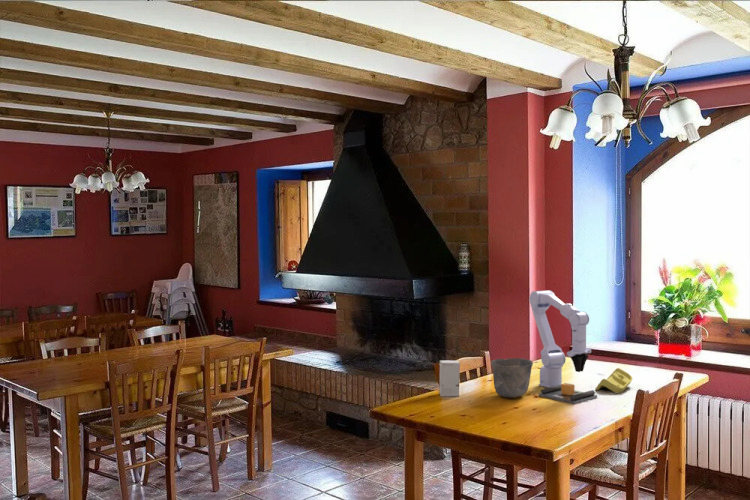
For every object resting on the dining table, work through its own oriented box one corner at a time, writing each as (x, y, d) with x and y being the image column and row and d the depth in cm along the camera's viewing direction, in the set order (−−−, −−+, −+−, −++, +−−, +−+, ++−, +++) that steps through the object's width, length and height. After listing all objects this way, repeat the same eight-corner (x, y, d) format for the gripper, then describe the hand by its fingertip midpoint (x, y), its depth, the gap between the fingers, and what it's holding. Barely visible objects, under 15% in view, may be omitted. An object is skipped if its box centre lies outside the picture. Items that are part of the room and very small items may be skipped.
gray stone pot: (502, 389, 310) (502, 356, 310) (539, 394, 300) (539, 360, 300) (484, 397, 296) (484, 362, 295) (523, 403, 286) (523, 367, 285)
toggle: (561, 393, 297) (561, 383, 296) (565, 392, 299) (565, 382, 298) (569, 395, 293) (569, 384, 293) (574, 394, 295) (574, 383, 295)
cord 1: (539, 393, 298) (539, 388, 298) (561, 388, 307) (561, 383, 307) (543, 394, 296) (543, 389, 296) (565, 388, 305) (565, 384, 305)
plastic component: (621, 389, 299) (600, 376, 304) (614, 403, 302) (593, 390, 307) (635, 377, 315) (615, 365, 320) (628, 390, 318) (608, 378, 323)
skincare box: (440, 397, 298) (440, 362, 298) (439, 393, 304) (438, 359, 304) (460, 396, 299) (460, 362, 298) (458, 393, 305) (457, 359, 304)
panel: (538, 395, 298) (538, 392, 298) (562, 390, 308) (562, 387, 308) (574, 404, 284) (574, 401, 284) (597, 397, 294) (597, 394, 294)
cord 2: (568, 400, 286) (568, 395, 286) (590, 394, 295) (590, 389, 295) (573, 401, 284) (573, 396, 284) (594, 395, 293) (594, 390, 293)
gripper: (576, 343, 292) (576, 375, 293) (597, 339, 301) (597, 370, 302) (562, 341, 298) (563, 372, 298) (583, 337, 307) (583, 367, 307)
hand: (579, 371), depth 300 cm, fingers closed
